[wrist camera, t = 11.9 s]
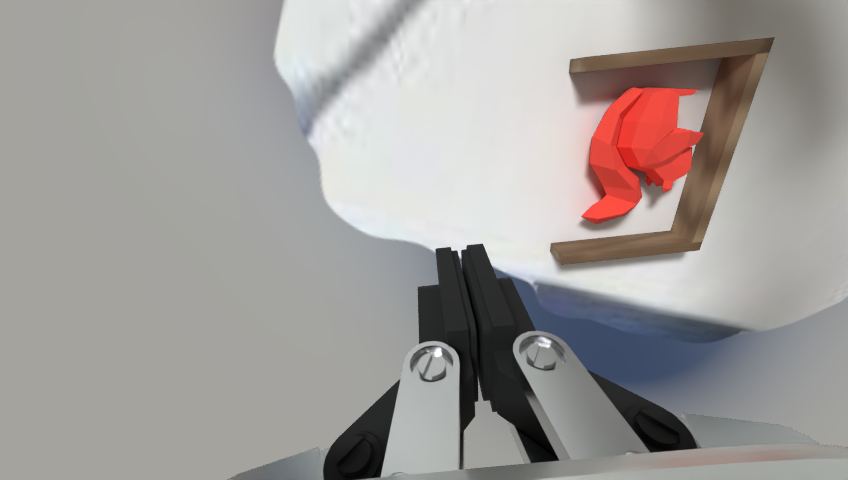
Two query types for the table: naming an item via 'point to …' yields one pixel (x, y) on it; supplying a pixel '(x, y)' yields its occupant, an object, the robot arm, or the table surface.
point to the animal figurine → (639, 148)
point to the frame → (709, 156)
